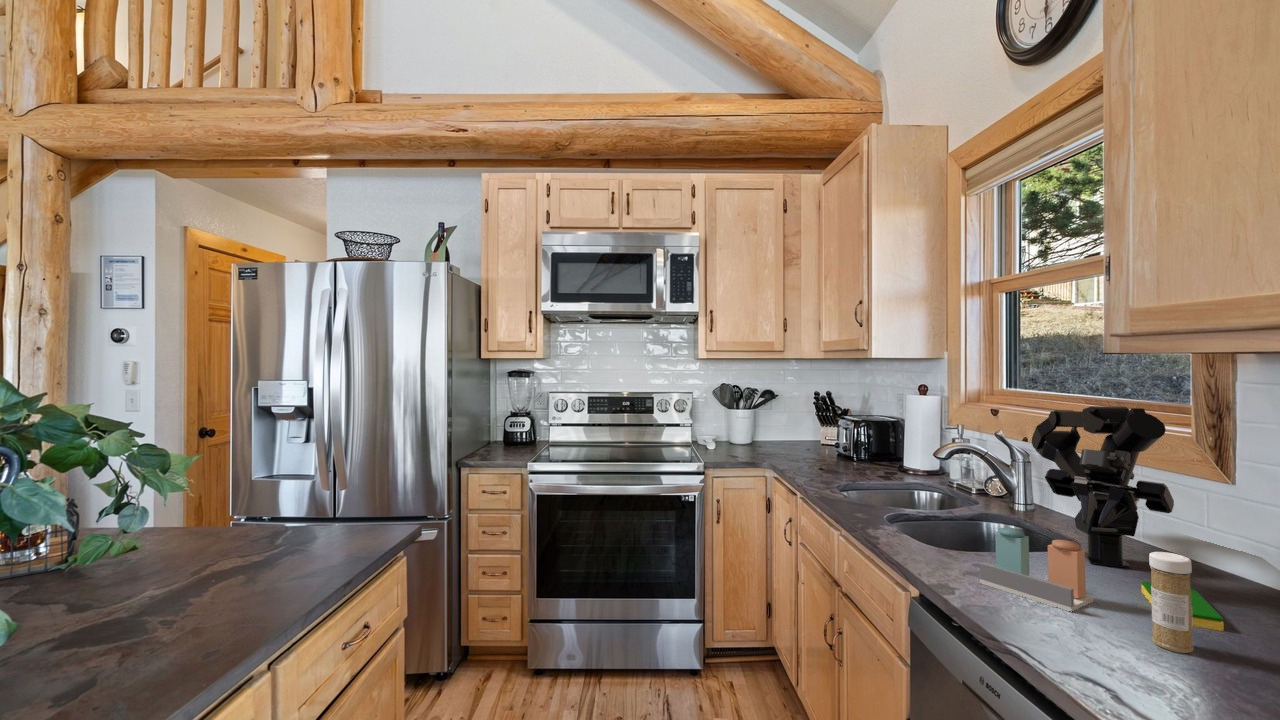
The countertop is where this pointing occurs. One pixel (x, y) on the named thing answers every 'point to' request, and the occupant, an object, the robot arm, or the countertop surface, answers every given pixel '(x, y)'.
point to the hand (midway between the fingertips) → (1092, 524)
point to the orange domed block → (1067, 566)
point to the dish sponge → (1195, 609)
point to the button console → (1031, 587)
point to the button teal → (1012, 550)
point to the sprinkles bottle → (1171, 601)
